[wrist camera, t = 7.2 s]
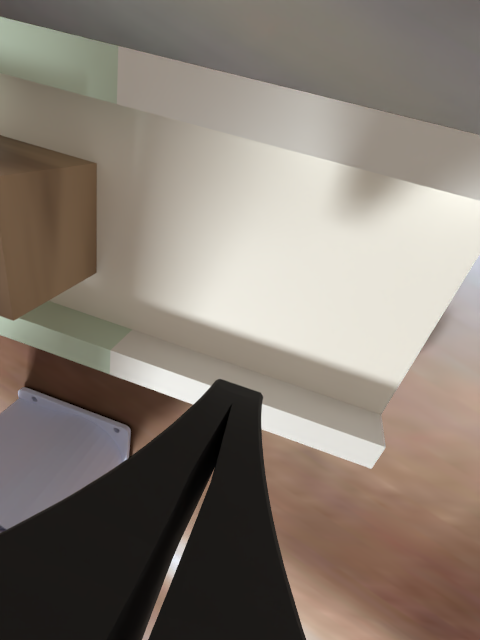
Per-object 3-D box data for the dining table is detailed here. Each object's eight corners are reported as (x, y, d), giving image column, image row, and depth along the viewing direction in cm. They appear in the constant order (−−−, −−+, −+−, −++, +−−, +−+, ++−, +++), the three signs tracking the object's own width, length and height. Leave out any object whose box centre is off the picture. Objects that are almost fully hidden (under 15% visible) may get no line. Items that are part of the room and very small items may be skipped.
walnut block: (6, 243, 17) (-103, 279, 13) (-9, 132, 15) (-152, 132, 10) (96, 272, 17) (13, 320, 13) (96, 163, 14) (-8, 176, 10)
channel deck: (-104, 237, 23) (-204, 261, 19) (-185, -21, 17) (-366, -74, 12) (364, 396, 20) (371, 468, 16) (501, 150, 13) (578, 159, 9)
